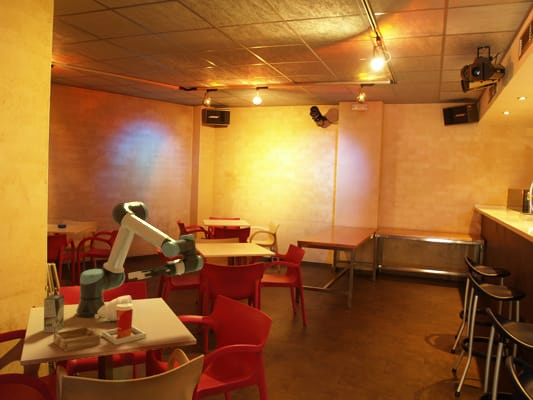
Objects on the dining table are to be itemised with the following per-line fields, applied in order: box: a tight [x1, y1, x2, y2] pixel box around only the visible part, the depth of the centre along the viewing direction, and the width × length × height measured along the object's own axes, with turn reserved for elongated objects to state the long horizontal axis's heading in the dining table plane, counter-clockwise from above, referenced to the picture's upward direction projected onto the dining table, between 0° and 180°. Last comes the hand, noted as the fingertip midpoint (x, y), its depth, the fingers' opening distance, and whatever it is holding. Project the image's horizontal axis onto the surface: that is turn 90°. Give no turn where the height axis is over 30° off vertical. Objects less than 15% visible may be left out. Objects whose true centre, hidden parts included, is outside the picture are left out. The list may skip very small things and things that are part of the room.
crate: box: [53, 326, 101, 353], centre depth 203 cm, size 15×15×4 cm
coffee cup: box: [115, 303, 135, 339], centre depth 213 cm, size 8×8×15 cm
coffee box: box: [43, 294, 65, 333], centre depth 220 cm, size 9×6×16 cm
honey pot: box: [94, 294, 134, 322], centre depth 235 cm, size 13×13×18 cm
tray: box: [101, 325, 147, 346], centre depth 213 cm, size 15×15×2 cm
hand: (132, 276), depth 219 cm, fingers open, 13 cm apart
